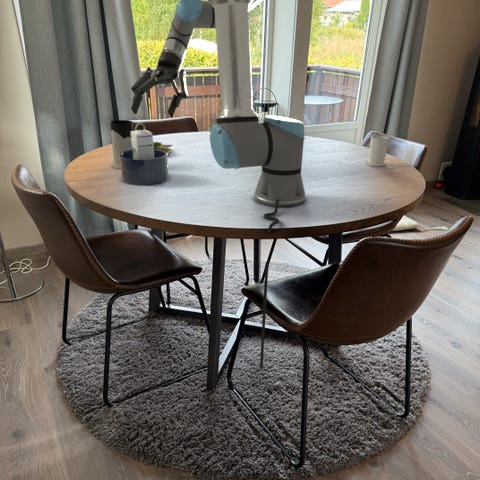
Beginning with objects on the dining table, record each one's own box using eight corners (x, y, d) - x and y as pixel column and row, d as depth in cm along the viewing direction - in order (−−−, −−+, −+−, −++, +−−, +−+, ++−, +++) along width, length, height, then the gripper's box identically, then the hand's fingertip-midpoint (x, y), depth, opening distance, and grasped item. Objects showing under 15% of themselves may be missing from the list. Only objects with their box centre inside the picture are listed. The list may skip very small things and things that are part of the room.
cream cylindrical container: (386, 166, 186) (391, 139, 181) (369, 166, 186) (373, 138, 181) (382, 162, 192) (386, 135, 187) (365, 162, 192) (369, 135, 187)
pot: (166, 185, 160) (165, 160, 156) (118, 184, 159) (115, 159, 155) (170, 172, 173) (168, 148, 169) (125, 172, 172) (123, 148, 168)
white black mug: (108, 165, 179) (103, 121, 172) (140, 159, 188) (137, 117, 180) (122, 170, 174) (117, 125, 166) (154, 163, 183) (151, 120, 175)
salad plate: (162, 145, 208) (162, 134, 206) (184, 154, 196) (184, 142, 193) (120, 151, 198) (118, 139, 196) (139, 160, 186) (138, 148, 184)
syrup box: (156, 178, 165) (153, 132, 158) (139, 180, 163) (135, 133, 155) (150, 173, 169) (147, 129, 162) (133, 175, 167) (129, 130, 159)
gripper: (209, 68, 165) (189, 123, 161) (144, 64, 173) (124, 117, 168) (201, 51, 158) (181, 108, 154) (134, 48, 166) (113, 102, 161)
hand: (151, 113), depth 161 cm, fingers open, 13 cm apart
